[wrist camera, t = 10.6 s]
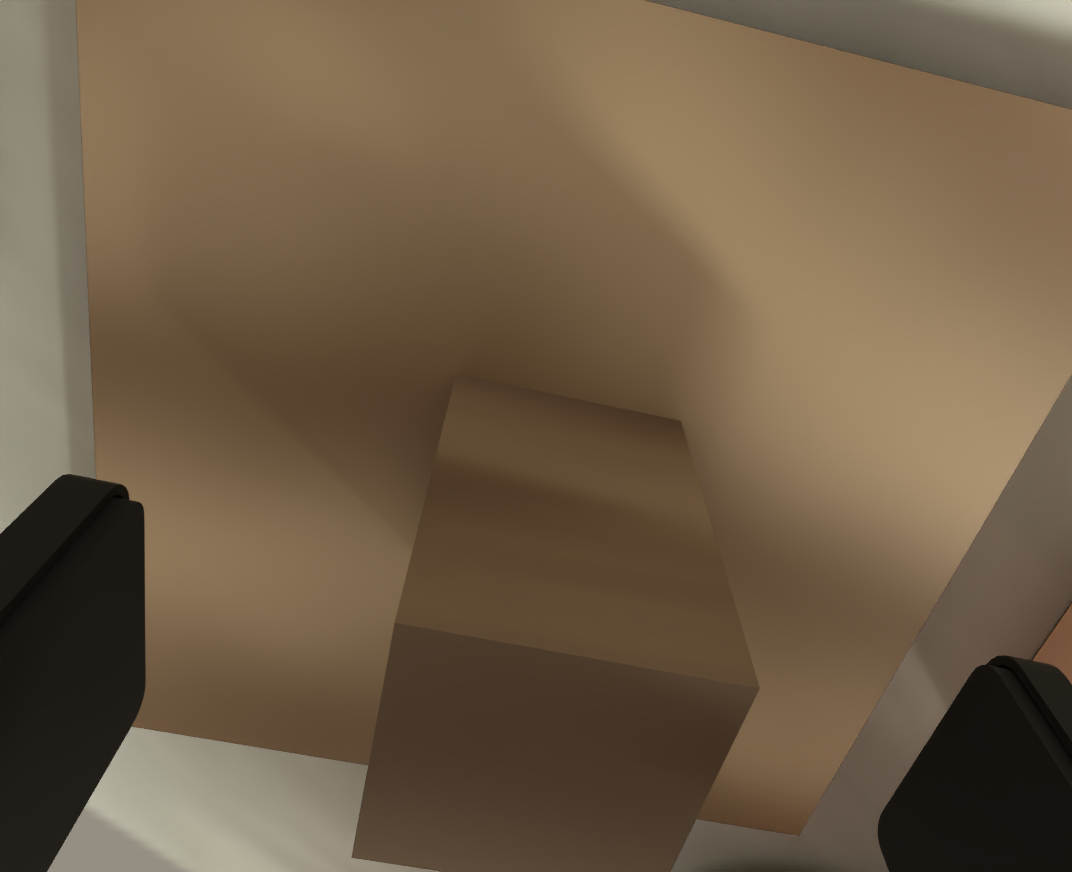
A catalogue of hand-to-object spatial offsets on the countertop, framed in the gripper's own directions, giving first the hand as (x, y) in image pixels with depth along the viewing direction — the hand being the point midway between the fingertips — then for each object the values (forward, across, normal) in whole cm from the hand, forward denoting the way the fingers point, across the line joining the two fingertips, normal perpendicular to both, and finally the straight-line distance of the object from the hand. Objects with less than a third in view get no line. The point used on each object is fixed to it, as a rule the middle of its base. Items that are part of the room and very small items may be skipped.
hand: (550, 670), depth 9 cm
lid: (+4, 0, 0) cm, 4 cm away
